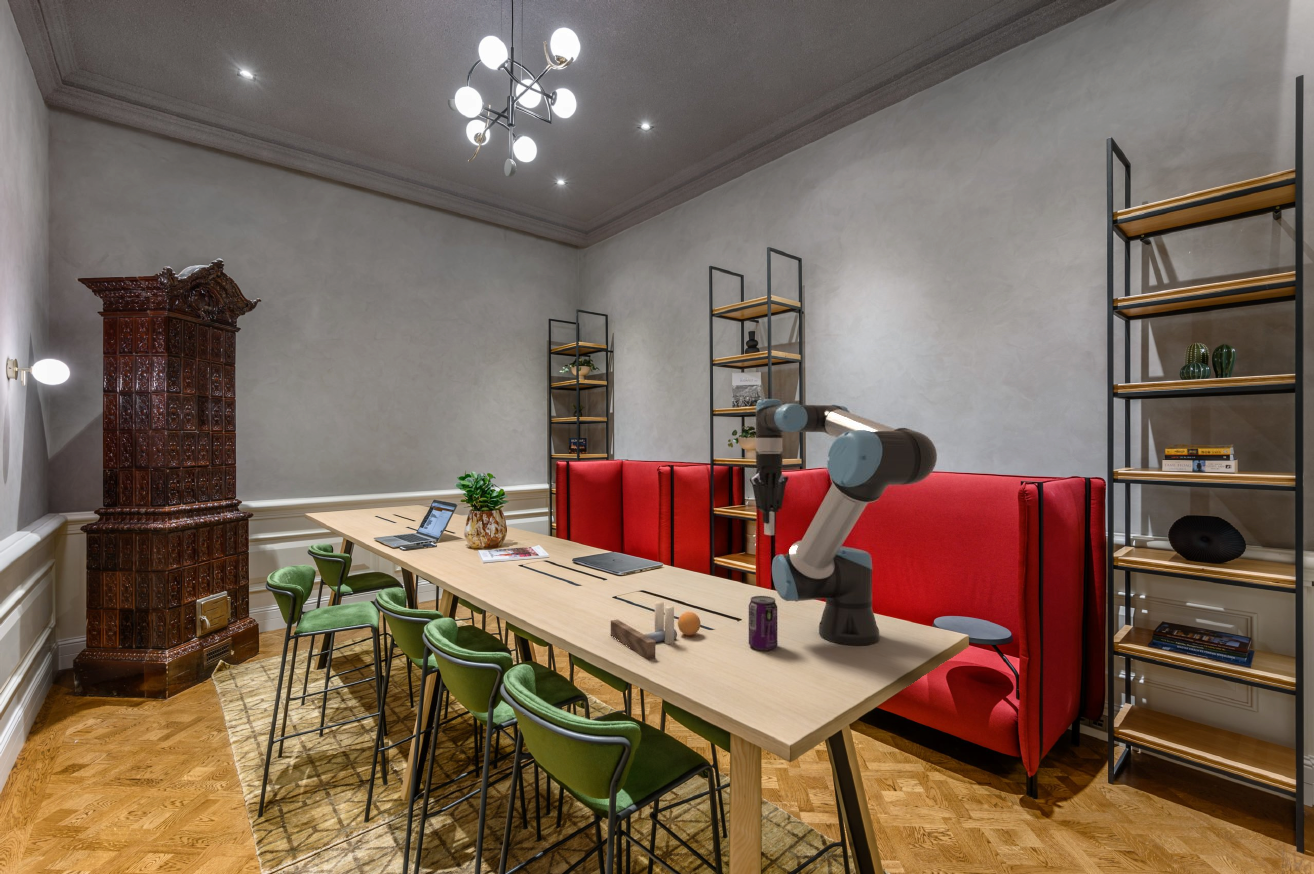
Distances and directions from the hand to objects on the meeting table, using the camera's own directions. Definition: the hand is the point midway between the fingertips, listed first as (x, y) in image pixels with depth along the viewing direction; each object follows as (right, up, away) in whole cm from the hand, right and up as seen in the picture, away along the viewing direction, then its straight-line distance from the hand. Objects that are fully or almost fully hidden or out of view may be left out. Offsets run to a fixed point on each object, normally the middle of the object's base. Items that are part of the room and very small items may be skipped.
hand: (769, 534), depth 171 cm
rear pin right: (-32, -24, -16) cm, 43 cm away
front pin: (-28, -23, -17) cm, 40 cm away
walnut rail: (-39, -24, -23) cm, 51 cm away
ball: (-24, -21, -14) cm, 35 cm away
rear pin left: (-29, -24, -20) cm, 43 cm away
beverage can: (-6, -24, -23) cm, 34 cm away
